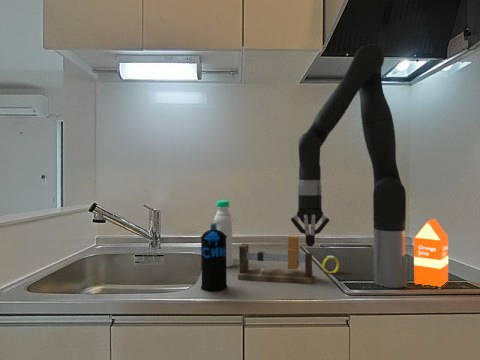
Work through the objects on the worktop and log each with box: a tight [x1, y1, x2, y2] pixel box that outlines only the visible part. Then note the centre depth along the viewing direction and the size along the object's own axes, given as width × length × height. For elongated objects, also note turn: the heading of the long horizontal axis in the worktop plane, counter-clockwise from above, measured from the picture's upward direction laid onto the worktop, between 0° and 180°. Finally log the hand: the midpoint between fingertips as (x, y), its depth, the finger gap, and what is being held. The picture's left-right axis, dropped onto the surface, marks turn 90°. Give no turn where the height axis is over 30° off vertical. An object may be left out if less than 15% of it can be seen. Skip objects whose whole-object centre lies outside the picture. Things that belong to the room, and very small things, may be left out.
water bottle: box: [213, 200, 234, 268], centre depth 143 cm, size 7×7×25 cm
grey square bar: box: [246, 250, 306, 263], centre depth 126 cm, size 20×3×3 cm, turn 76°
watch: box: [321, 255, 340, 274], centre depth 132 cm, size 6×3×6 cm, turn 106°
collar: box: [287, 234, 300, 270], centre depth 125 cm, size 3×6×10 cm, turn 166°
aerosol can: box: [199, 222, 228, 292], centre depth 116 cm, size 8×8×20 cm
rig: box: [237, 243, 314, 285], centre depth 126 cm, size 24×10×10 cm, turn 76°
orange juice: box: [413, 218, 449, 287], centre depth 118 cm, size 8×9×20 cm
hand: (310, 246), depth 123 cm, fingers closed
